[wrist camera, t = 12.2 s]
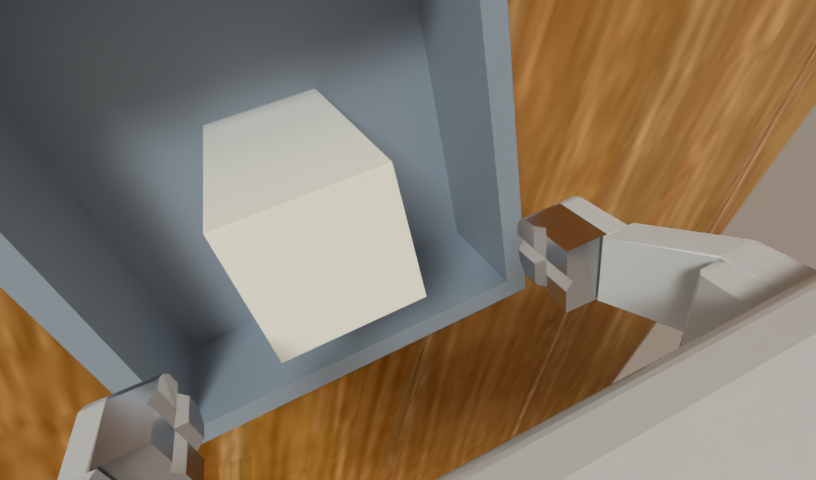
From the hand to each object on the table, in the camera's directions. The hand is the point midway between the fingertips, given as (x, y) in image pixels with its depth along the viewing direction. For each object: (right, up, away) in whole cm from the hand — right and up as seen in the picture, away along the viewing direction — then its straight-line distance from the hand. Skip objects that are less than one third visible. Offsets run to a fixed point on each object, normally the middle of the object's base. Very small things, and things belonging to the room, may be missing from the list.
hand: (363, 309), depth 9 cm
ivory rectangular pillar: (-4, +5, +9) cm, 11 cm away
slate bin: (-5, +5, +10) cm, 12 cm away
